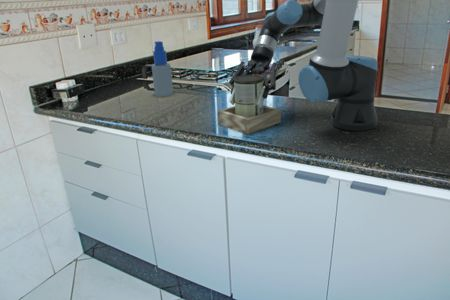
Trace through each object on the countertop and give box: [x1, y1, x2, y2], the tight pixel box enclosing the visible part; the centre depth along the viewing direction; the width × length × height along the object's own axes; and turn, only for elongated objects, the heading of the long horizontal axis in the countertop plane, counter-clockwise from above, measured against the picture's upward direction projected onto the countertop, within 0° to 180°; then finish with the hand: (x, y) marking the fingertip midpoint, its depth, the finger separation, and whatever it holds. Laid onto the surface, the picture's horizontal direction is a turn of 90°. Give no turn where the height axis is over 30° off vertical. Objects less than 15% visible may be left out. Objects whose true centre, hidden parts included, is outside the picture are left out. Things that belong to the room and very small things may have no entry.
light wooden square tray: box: [217, 104, 282, 135], centre depth 134 cm, size 16×16×5 cm
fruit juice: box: [252, 24, 271, 80], centre depth 203 cm, size 9×9×28 cm
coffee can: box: [234, 75, 264, 118], centre depth 132 cm, size 10×10×14 cm
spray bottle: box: [151, 41, 174, 98], centre depth 179 cm, size 9×9×25 cm
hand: (245, 104), depth 130 cm, fingers closed on coffee can, 10 cm apart
